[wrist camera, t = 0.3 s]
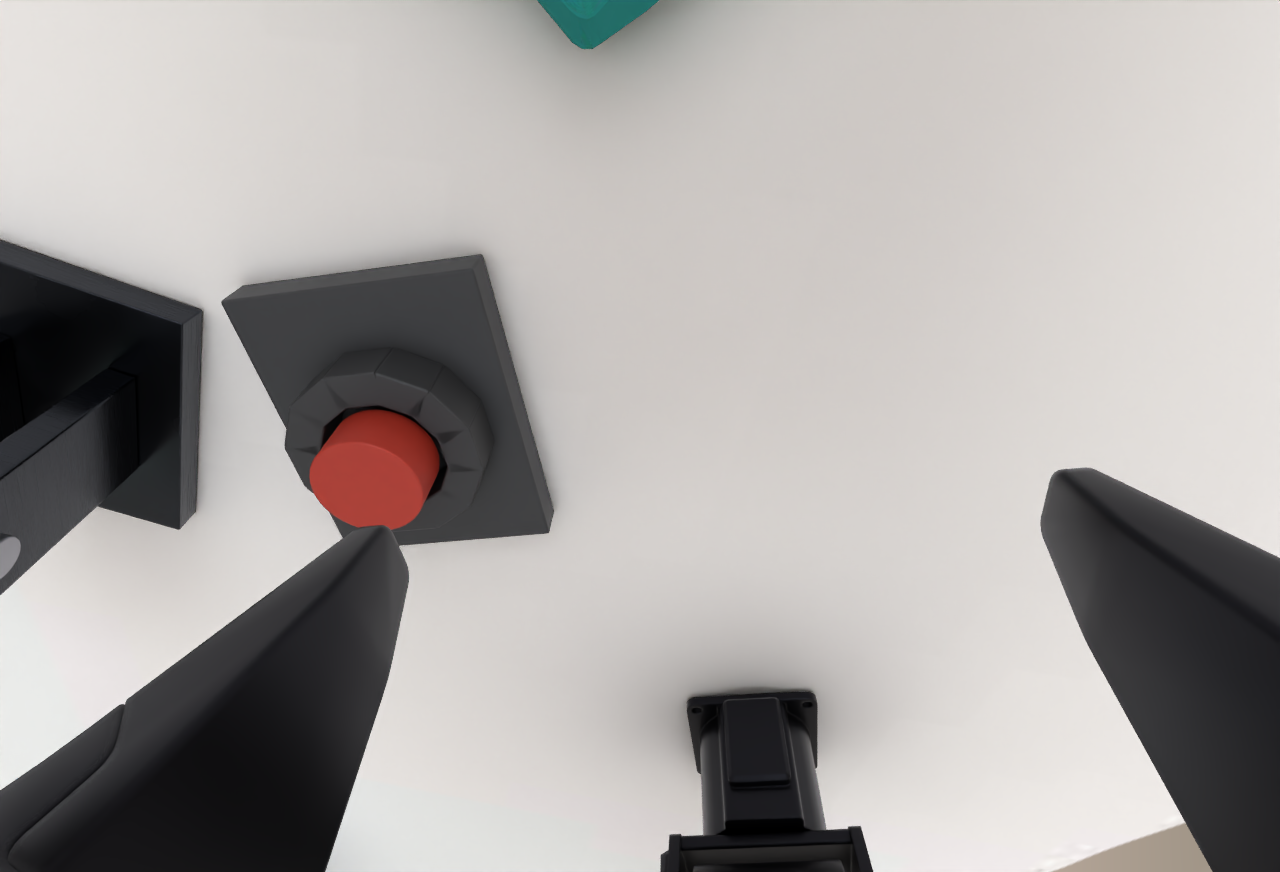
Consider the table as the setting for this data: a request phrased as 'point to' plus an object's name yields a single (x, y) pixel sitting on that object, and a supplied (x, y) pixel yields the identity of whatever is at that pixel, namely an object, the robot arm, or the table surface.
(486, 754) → the table surface
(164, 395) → the dark grey lever base
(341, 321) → the control block
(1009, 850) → the table surface
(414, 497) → the red button
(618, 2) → the digital multimeter
